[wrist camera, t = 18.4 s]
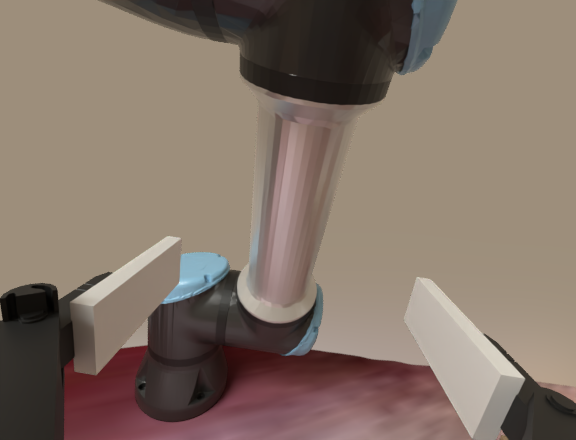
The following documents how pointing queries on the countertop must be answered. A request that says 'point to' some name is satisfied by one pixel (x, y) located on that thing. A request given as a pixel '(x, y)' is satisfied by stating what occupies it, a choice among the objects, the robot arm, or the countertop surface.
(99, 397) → the countertop surface
